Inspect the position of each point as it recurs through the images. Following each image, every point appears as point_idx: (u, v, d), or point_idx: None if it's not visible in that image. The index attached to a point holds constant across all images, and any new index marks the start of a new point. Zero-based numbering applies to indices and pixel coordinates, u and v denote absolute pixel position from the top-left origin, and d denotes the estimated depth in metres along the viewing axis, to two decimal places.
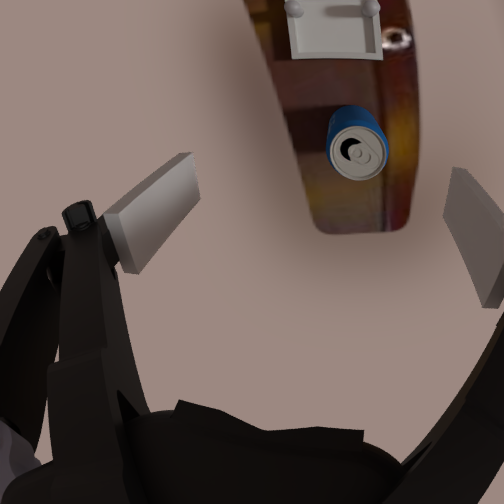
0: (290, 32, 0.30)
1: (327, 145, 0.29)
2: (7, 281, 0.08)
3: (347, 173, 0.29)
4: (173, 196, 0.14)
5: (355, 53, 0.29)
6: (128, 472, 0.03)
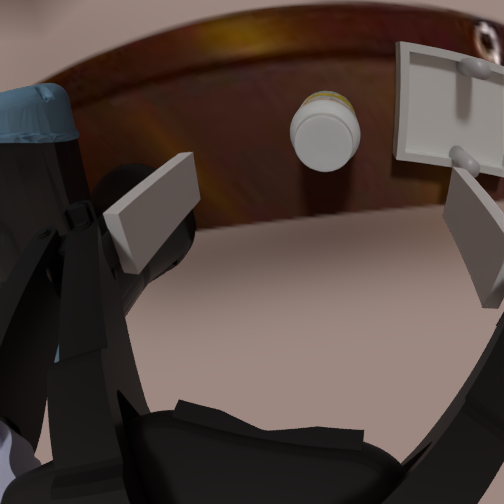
0: (483, 171, 0.23)
1: None
2: (7, 281, 0.08)
3: None
4: (173, 196, 0.14)
5: None
6: (128, 472, 0.03)
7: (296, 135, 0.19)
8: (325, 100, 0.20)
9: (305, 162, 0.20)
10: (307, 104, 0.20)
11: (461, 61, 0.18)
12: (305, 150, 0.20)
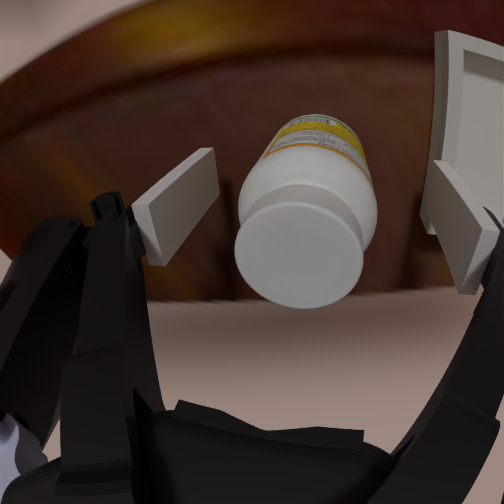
0: None
1: None
2: (27, 272, 0.08)
3: None
4: (196, 190, 0.14)
5: None
6: (128, 472, 0.03)
7: (238, 242, 0.09)
8: (308, 149, 0.10)
9: (260, 291, 0.10)
10: (270, 158, 0.10)
11: None
12: (259, 271, 0.10)
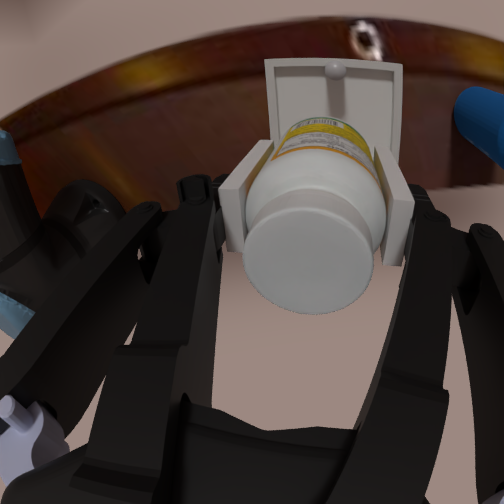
0: None
1: None
2: (89, 253, 0.08)
3: None
4: None
5: (395, 96, 0.24)
6: (128, 472, 0.03)
7: (246, 247, 0.09)
8: (317, 152, 0.10)
9: (268, 297, 0.10)
10: (278, 161, 0.10)
11: (325, 65, 0.24)
12: (267, 277, 0.10)
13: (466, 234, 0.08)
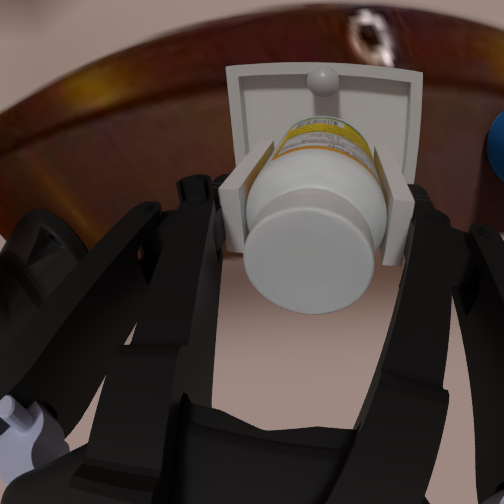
0: None
1: None
2: (89, 253, 0.08)
3: None
4: None
5: (411, 118, 0.17)
6: (128, 472, 0.03)
7: (247, 247, 0.09)
8: (318, 152, 0.10)
9: (269, 297, 0.10)
10: (279, 160, 0.10)
11: None
12: (268, 277, 0.10)
13: (466, 234, 0.08)
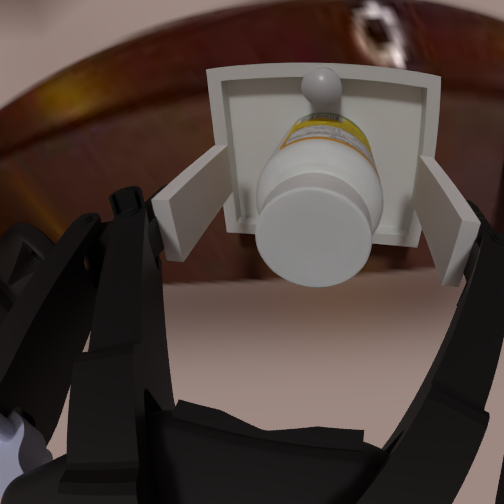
0: None
1: None
2: (40, 267, 0.08)
3: None
4: (212, 186, 0.14)
5: (427, 131, 0.14)
6: (128, 472, 0.03)
7: (259, 224, 0.10)
8: (322, 142, 0.11)
9: (277, 271, 0.11)
10: (287, 149, 0.11)
11: None
12: (277, 251, 0.11)
13: None
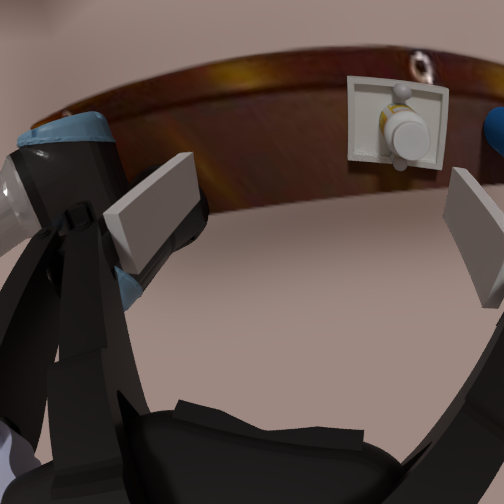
0: (417, 165, 0.35)
1: None
2: (7, 281, 0.08)
3: None
4: (173, 196, 0.14)
5: (443, 113, 0.30)
6: (128, 472, 0.03)
7: (395, 134, 0.26)
8: (409, 111, 0.27)
9: (399, 153, 0.27)
10: (397, 113, 0.27)
11: (393, 86, 0.30)
12: (400, 145, 0.27)
13: None
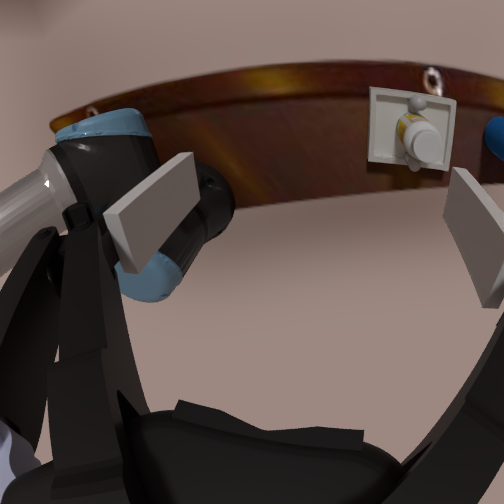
0: (427, 166, 0.39)
1: None
2: (7, 281, 0.08)
3: None
4: (173, 196, 0.14)
5: (450, 122, 0.34)
6: (128, 472, 0.03)
7: (415, 140, 0.31)
8: (425, 121, 0.31)
9: (418, 156, 0.32)
10: (416, 122, 0.32)
11: (410, 98, 0.34)
12: (419, 149, 0.31)
13: None
